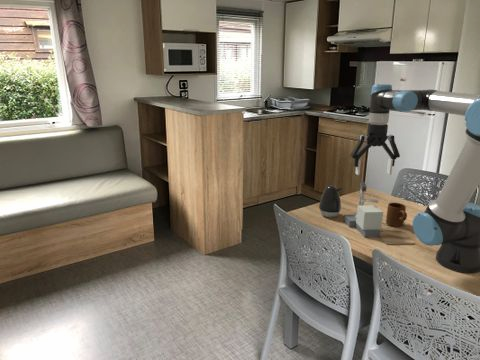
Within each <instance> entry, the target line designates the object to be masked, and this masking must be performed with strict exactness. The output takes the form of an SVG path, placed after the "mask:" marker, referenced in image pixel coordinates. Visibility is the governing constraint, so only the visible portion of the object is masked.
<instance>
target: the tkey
mask: <svg viewBox="0 0 480 360" xmlns="http://www.w3.org/2000/svg"><path fill="white" fill-rule="evenodd" d="M359 186H360V195H359V204H358V206H364V202H367V203H376V204H377V203H379V200H378V199H375V198H365V193H366V192H367V189H368V186H367V185H366V182H365V181H360V183H359Z"/></svg>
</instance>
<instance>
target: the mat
mask: <svg viewBox="0 0 480 360" xmlns="http://www.w3.org/2000/svg"><path fill="white" fill-rule="evenodd" d="M378 238H380V240H381V241H382V242H383V243H384V244H385V245H386V246H394V245H397V246H398V245H399V246H401V245H416V242H415V241H413V240H412V239H411V238H410V237H409V236H408V235H407V234H406V233H404V232H403V231H401V230H397V231H396V230H395V231H394V230H392V231H391V230H389V231H380V236H379V237H378Z"/></svg>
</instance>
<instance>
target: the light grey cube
mask: <svg viewBox="0 0 480 360" xmlns="http://www.w3.org/2000/svg"><path fill="white" fill-rule="evenodd" d="M356 207H357V209H356V214H357V216H356V223H357V224H358V225H359V226H360V227H361V229H362V230H380V231H381V230H382V227H383V226H382V225H383V219H384V218H383V217H384V211H383V210H381V209H380V208H379V207H378V206H377V205H374V204H371V205H369V204H368V205H363V206H359V205H357V206H356Z"/></svg>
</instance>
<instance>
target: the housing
mask: <svg viewBox="0 0 480 360" xmlns="http://www.w3.org/2000/svg"><path fill="white" fill-rule="evenodd" d="M356 216H357V213H355V214H352V213H351V214H343V222H344V223H345V224H346V225H347V226H348V227H349V228H356V229H357V231H358V232H359V233H360V234H361V235H362V237H364V238H379V236H380V232H381V230H362V229H361V227H360V226H359V225H358V224H357V223H356Z"/></svg>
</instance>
